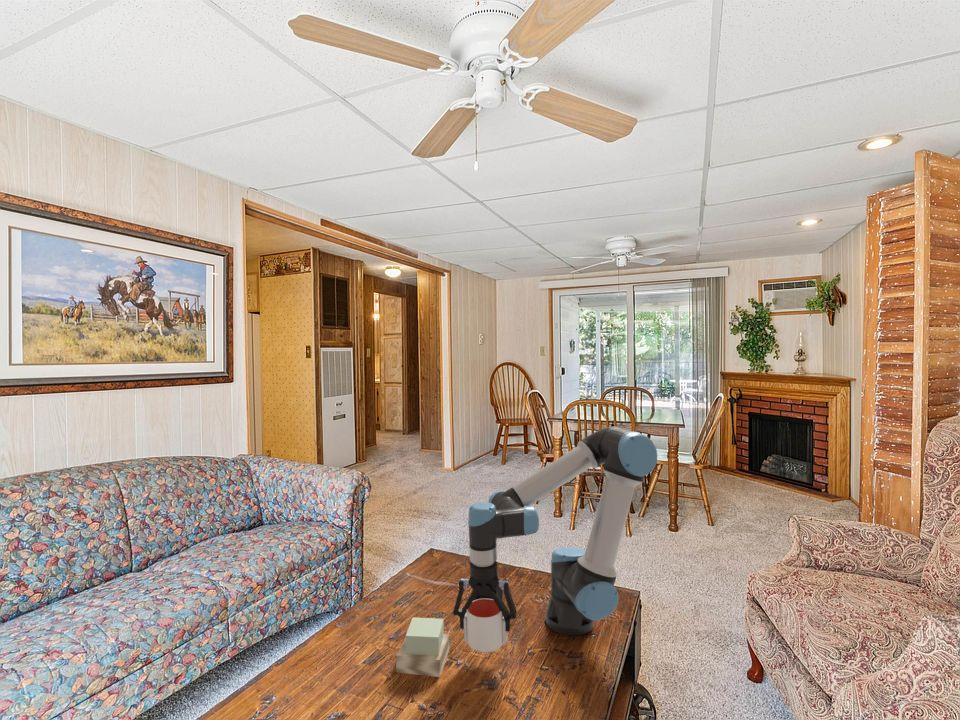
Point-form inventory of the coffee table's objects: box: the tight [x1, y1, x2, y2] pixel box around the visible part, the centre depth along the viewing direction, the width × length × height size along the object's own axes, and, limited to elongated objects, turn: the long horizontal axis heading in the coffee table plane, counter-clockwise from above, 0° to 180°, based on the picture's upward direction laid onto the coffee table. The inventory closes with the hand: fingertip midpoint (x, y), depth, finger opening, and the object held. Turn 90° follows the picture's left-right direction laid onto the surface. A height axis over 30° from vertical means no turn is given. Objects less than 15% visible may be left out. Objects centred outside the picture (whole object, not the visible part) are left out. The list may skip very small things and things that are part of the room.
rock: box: [471, 586, 504, 600], centre depth 170 cm, size 9×10×10 cm
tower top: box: [405, 617, 445, 656], centre depth 135 cm, size 9×9×5 cm
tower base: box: [395, 633, 451, 678], centre depth 135 cm, size 12×12×5 cm
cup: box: [466, 599, 503, 653], centre depth 133 cm, size 10×10×10 cm
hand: (485, 640), depth 133 cm, fingers closed on cup, 10 cm apart
